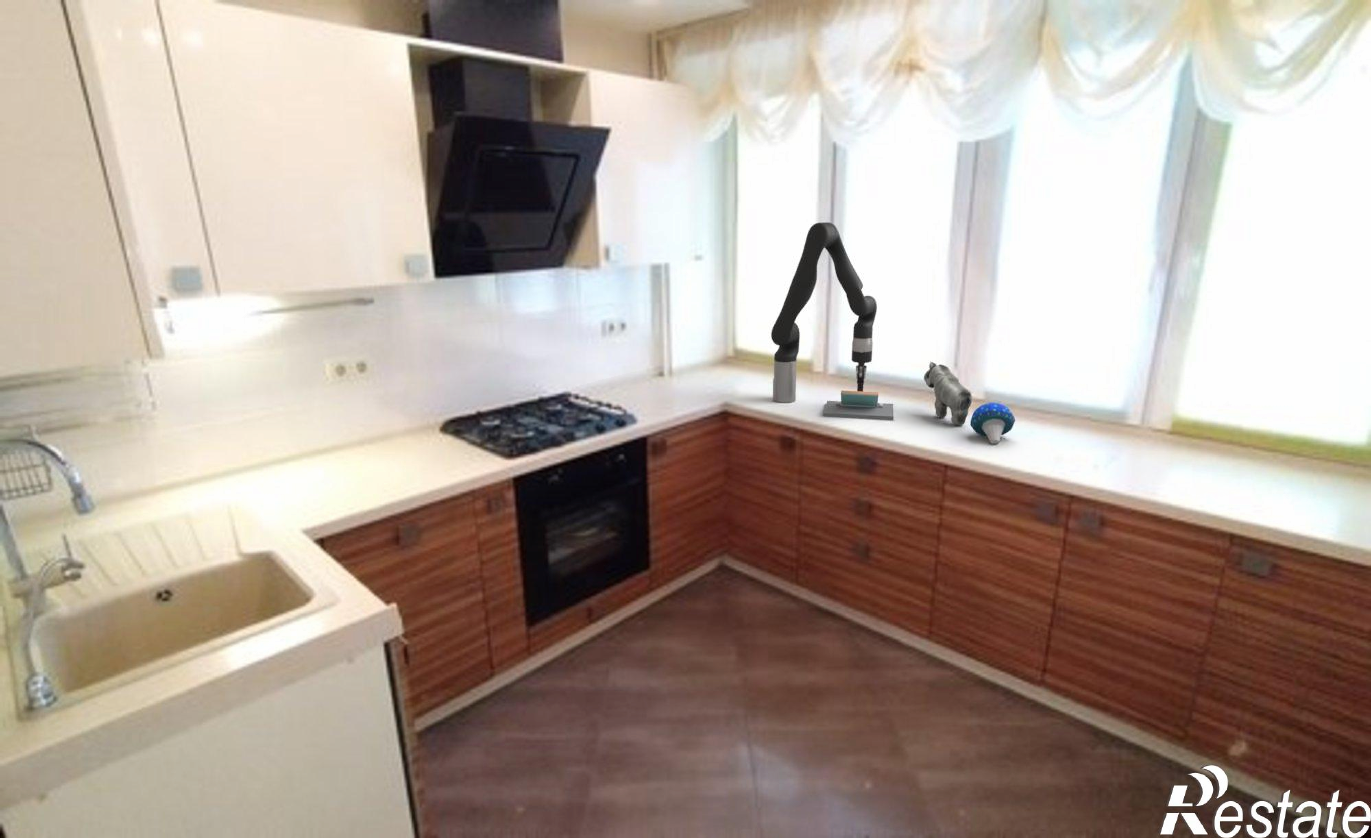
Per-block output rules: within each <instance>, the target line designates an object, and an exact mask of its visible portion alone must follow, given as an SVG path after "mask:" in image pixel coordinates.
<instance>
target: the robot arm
mask: <svg viewBox="0 0 1371 838" xmlns="http://www.w3.org/2000/svg"><path fill="white" fill-rule="evenodd" d="M824 249H825V250H826V252H828V254H829V256H830V257H831V260H832V263H833V266H834V270H835V275H836V278H837V280H838V283H839V284H840V286H841V288H842V290H843V291H844V293H845V295H846V298H847V303H848V305H849V308H850V310H851V312H852V313H853V314H855V316H857V317H858V318H857V321H856V322H855V323H854V326H853V331H852V332H853V334H852V336H853V337H852V344H851V361H852V362H853V363H857V365H855V372H856V373H855V374H856V375H855V376H856V379H857V380H856V384H857V385H856V387H857V389H856V391H864V384H865V379H866V372H867V368H868V367H867V365H866V364H867V363H868V364H869V363H871V362H872V361H873V360H872V359H873V345H874V344H873V329H874V328H873V326H874V322H875V319H876V315H877V307H878V305H877V301H876V298H874V297H873V296H871V295H864V293H863V290H862V289H863V287H864V285H863V282H862V280H861V279H860V276H859V275H858V273H857V271H856V270H855V268H854V266H853V264H852V261H851V260H850V258H849V256H848V255H849V254H847V251H846V248H845V245H844V244H843V240H842V238H841V235H840V233H839V231H838V228H837V226H836V225H835V224H833V223H832V222H816V223H814V224H813V225H812V226H810V228H809V230H808V231H807V235H806V238H805V241H804V245H803V250H802V254H801V256H800V259H799V261H798V264H797V266H796V271H795V272H794V276H793V277H792V280H791V281H790V286H789V288H788V291H787V294H786V297H785V299H784V302H783V305H782V308H781V309H780V310H781V311H780V313H779V314H778V316H777V318H776V320H775V322H774V325H773V327H772V329H771V333H770V334H771V335H770V337H771V341H772V342H773V344H775V345H777V346H778V349H777V351H775V353H774V356H773V357H774V358H773V361H774V362H773V365H774V366H773V379H772V402H777V403H784V404H785V403H787V404H788V403H793V402H795V401H796V398H797V396H796V395H797V360H798V359H797V357H798V354H799V351H800V350H799V349H800V337H801V336H800V335H801V334H800V333H801V332H800V327H799V326H798V324H797V323H796V319H797V317H798V316H799V314H800V313H801V311H802V310H803V309H804V308H805V306H806V305H807V304H808V302H809V300H810V299H811V297H812V295H813V292H814V289H815V288H816V284H817V280H818V263H819V259H820V257H821V255H822V253H823V250H824Z"/></svg>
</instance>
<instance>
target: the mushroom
mask: <svg viewBox="0 0 1371 838" xmlns="http://www.w3.org/2000/svg"><path fill="white" fill-rule="evenodd" d="M1015 422H1016V418H1015V416H1014V414H1013V413H1012V411H1011V409H1010V408H1009V407H1007V406H1006V405H1004V404H1001V403H999V402H988V403H985V404H981V405H980V406H979V407H977V408H976V409H974V411H973V413H972V416H971V419H970V425H969V426H970V427H971V428H972V429H973V431H974V433H976V434H978V435H980V436H982V437H986V438H988V439H989V442H990V444H991V445H998V444H999V443H1000V439H1001V437H1002V436H1003V435H1006V434H1007V433H1009V432H1010V431H1012V429H1013V427H1014V424H1015Z"/></svg>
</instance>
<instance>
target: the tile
mask: <svg viewBox="0 0 1371 838" xmlns="http://www.w3.org/2000/svg"><path fill="white" fill-rule="evenodd" d="M840 401H841V404H842V405H856V406H876V407H877V406H878V403H879V392H878V391H877V392H876V391H864V390H863V391H857V390H840Z"/></svg>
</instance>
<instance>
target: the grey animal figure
mask: <svg viewBox="0 0 1371 838" xmlns="http://www.w3.org/2000/svg"><path fill="white" fill-rule="evenodd" d="M928 367H929V369H928V370H927V371H926V372H925V374H924V376H923V380H924V382H925V384H926V385H927V387H929V388H931V389H933V392H934V396H935V402H934V409H935V415H936V417H938V418H940V419H941V418H945V417H947V414H948V408H949V409H950V413H951V418H950V421H951V423H952V424H953V425H954V426H957V427H961V426H963V425H965V423H966V419H967V417H968V415H969V409H970V407H971V405H972V401H973V395H972V392H971V391H970V390H969V389H968V388H966V386H964V385H963V384H962V383H961V381H960V379H959V378H958V376H957V375H955V374H954V373H953V372H952V371H951V369H950V368H949V367H948V366H946V365H944V364H938V365H937V363H935V362H933V361H930V362H929V366H928Z"/></svg>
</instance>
